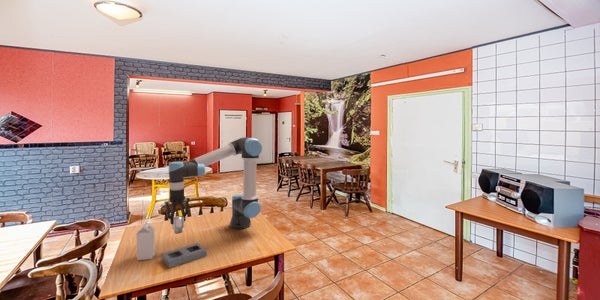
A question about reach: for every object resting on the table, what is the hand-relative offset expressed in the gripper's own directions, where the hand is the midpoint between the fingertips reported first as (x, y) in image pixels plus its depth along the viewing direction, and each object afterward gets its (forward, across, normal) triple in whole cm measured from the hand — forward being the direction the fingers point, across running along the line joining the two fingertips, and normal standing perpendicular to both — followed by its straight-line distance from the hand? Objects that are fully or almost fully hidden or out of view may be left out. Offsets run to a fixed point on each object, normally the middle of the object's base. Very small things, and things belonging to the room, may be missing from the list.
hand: (178, 228), depth 154 cm
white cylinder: (+2, 0, 0) cm, 2 cm away
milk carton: (+13, +16, -3) cm, 21 cm away
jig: (+13, +1, +12) cm, 18 cm away
